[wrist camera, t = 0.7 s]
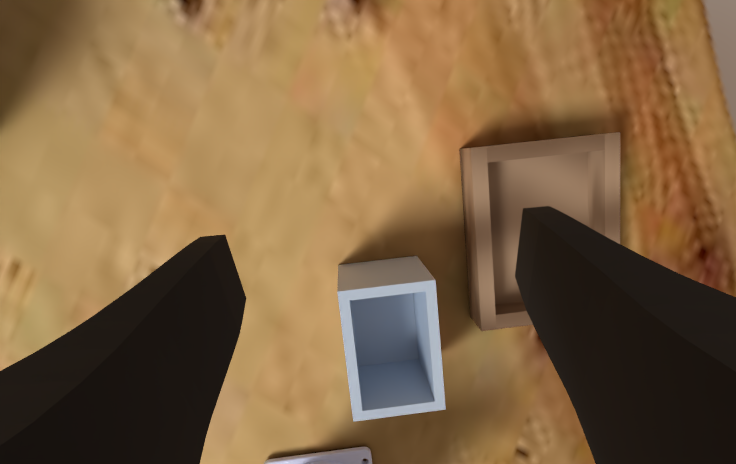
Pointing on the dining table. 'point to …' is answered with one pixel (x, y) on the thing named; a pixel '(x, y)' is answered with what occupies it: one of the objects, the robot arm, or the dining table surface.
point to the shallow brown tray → (526, 190)
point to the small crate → (391, 337)
